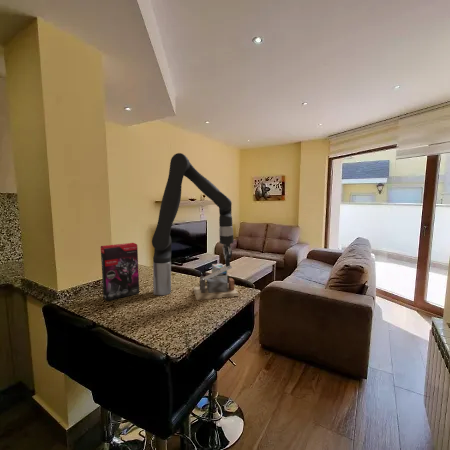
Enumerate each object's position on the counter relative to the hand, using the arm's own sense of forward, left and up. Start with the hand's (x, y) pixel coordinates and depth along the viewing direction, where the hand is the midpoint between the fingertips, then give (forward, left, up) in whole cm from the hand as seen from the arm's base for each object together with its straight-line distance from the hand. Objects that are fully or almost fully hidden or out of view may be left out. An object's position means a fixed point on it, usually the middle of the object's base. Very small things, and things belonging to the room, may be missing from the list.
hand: (227, 265), depth 136 cm
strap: (-6, 0, -5) cm, 8 cm away
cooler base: (-7, 0, -15) cm, 17 cm away
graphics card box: (-56, +6, -15) cm, 58 cm away
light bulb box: (-1, +18, -15) cm, 24 cm away
